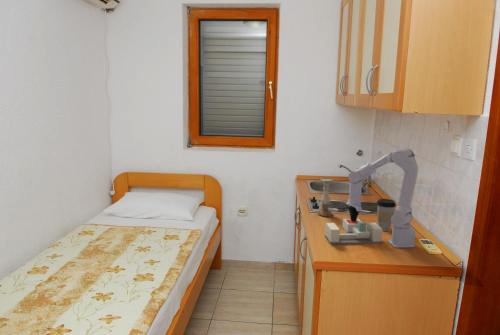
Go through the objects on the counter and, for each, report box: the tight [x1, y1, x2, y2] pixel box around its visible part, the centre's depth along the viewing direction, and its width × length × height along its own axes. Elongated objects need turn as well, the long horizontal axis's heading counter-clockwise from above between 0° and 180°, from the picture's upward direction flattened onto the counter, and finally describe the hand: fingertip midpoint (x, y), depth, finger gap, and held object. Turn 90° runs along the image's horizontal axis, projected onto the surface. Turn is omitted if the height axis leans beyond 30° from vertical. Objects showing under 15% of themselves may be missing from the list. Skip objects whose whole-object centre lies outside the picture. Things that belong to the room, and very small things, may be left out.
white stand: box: [324, 222, 383, 246], centre depth 185 cm, size 24×10×7 cm, turn 94°
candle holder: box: [316, 177, 334, 217], centre depth 222 cm, size 9×9×20 cm
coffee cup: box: [375, 198, 397, 232], centre depth 200 cm, size 9×9×15 cm
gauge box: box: [341, 218, 361, 234], centre depth 198 cm, size 8×8×5 cm
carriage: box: [352, 220, 370, 238], centre depth 185 cm, size 6×7×7 cm
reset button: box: [347, 218, 358, 224], centre depth 197 cm, size 4×4×4 cm
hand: (353, 220), depth 197 cm, fingers closed, pressing on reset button
